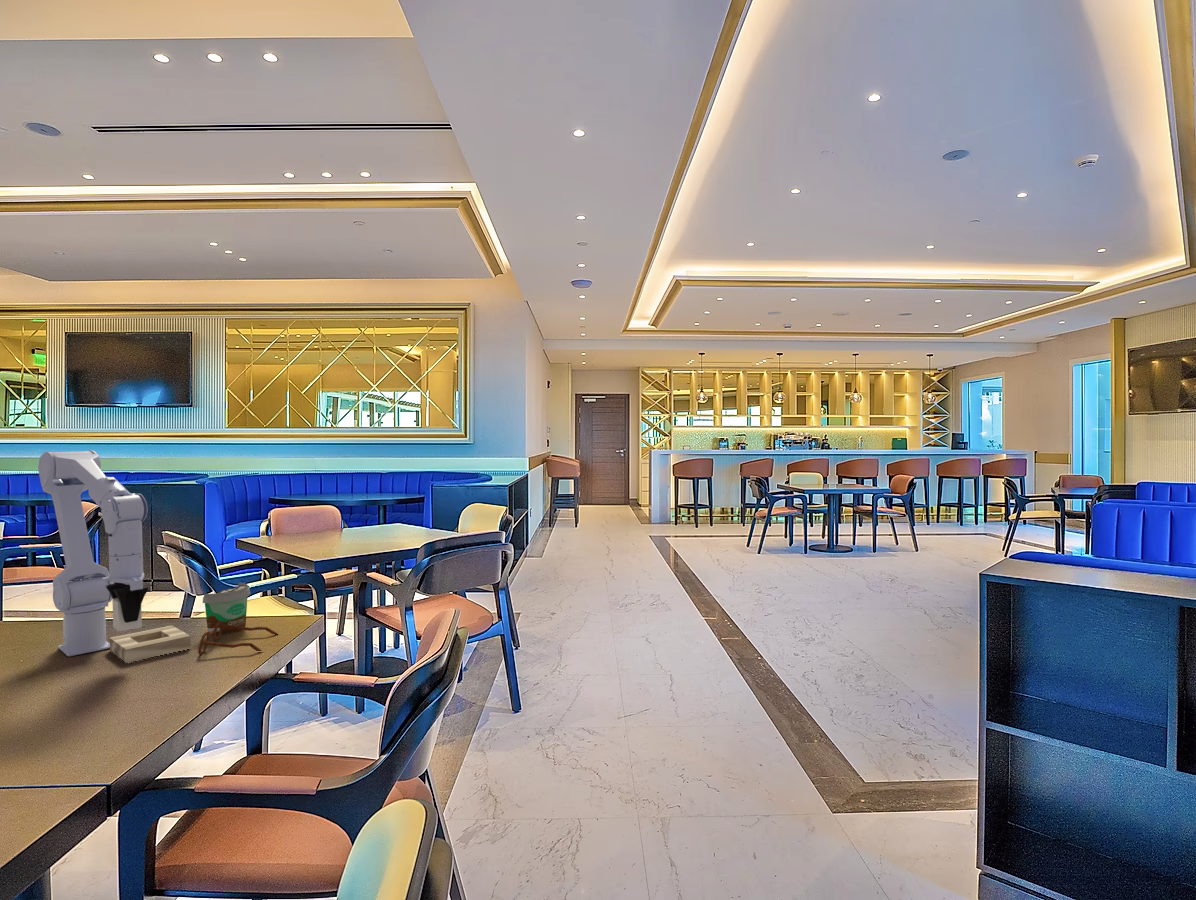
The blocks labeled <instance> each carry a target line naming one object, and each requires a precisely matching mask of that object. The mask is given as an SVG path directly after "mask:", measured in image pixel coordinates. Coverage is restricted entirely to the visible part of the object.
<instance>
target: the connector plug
mask: <svg viewBox="0 0 1196 900" xmlns="http://www.w3.org/2000/svg"><path fill="white" fill-rule="evenodd" d="M111 602H112V623H113V624H112V626H113V627H112V628H113V629H114V630H115V631H117V632H124V631H128V630H129V631H130V630H133V629H134V630H135V629H140V628H143V623H142V618H143V615H142V607H141V608H140V613H139V617H138V620H137V621H133V622H127V623H126V622H125V621H124V618H123V614H122V609H121V605H120V602H119V599H118V598H115V599H112V600H111Z"/></svg>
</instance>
